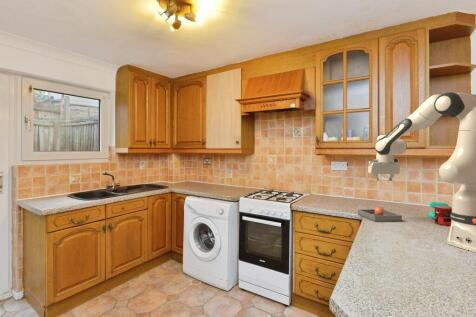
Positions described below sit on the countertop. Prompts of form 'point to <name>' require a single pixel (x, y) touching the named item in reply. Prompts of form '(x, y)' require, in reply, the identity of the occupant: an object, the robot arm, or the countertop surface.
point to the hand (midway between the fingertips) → (383, 180)
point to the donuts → (434, 207)
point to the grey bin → (385, 218)
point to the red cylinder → (378, 211)
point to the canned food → (443, 215)
